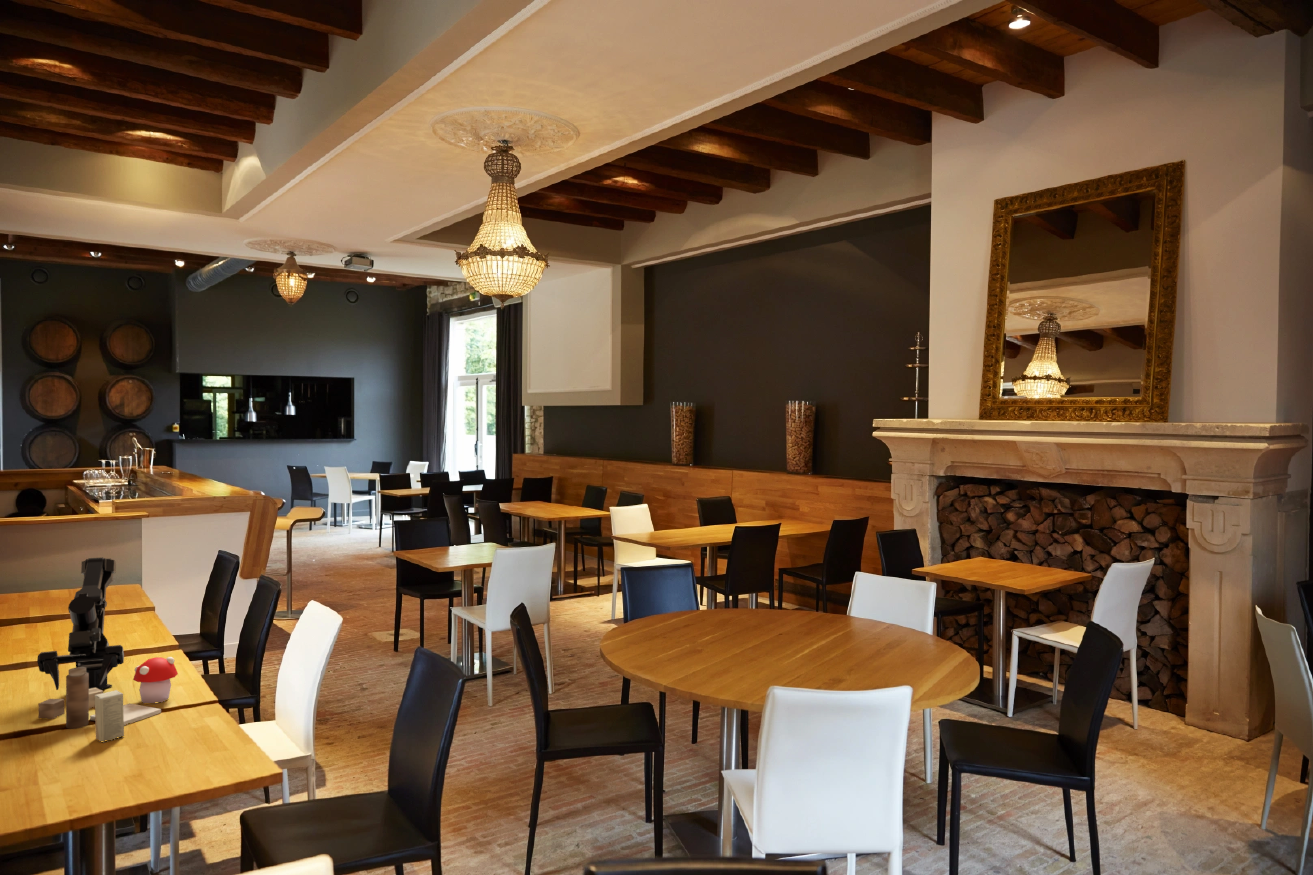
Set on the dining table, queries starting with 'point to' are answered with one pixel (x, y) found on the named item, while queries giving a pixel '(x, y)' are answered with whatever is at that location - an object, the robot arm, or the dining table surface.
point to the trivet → (135, 713)
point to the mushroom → (155, 679)
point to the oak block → (93, 696)
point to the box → (109, 715)
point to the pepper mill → (77, 698)
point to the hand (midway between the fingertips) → (78, 686)
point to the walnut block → (51, 708)
